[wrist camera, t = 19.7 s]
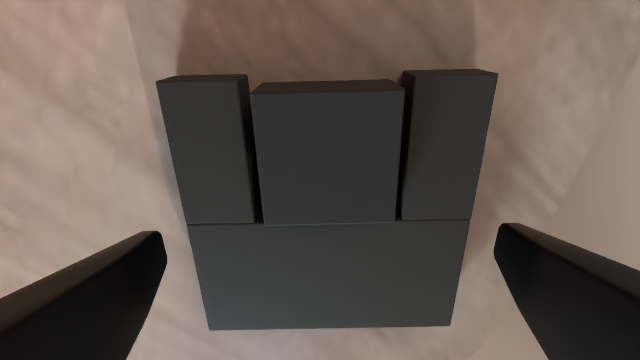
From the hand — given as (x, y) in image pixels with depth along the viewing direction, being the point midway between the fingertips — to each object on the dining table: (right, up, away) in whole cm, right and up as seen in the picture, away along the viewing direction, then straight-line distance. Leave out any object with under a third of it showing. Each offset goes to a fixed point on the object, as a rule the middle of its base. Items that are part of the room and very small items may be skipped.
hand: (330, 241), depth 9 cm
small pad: (0, +3, +8) cm, 9 cm away
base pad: (0, 0, +9) cm, 9 cm away
